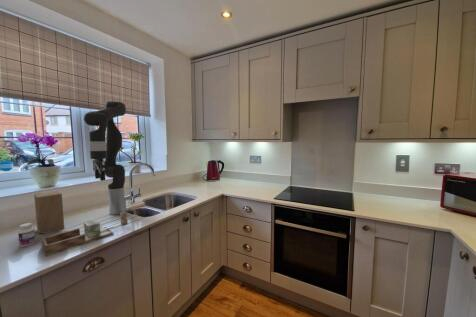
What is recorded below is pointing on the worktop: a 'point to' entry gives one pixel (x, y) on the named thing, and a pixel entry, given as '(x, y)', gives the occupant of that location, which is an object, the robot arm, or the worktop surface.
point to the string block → (94, 226)
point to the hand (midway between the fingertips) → (100, 179)
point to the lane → (69, 240)
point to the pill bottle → (26, 235)
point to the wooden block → (49, 211)
